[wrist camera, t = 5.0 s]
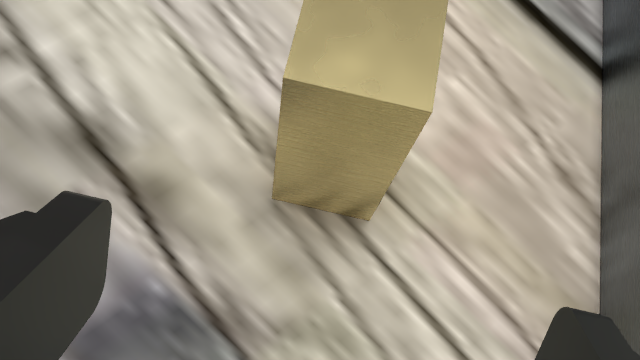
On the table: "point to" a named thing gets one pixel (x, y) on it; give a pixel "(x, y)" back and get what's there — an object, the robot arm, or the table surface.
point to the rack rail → (621, 169)
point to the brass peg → (355, 99)
